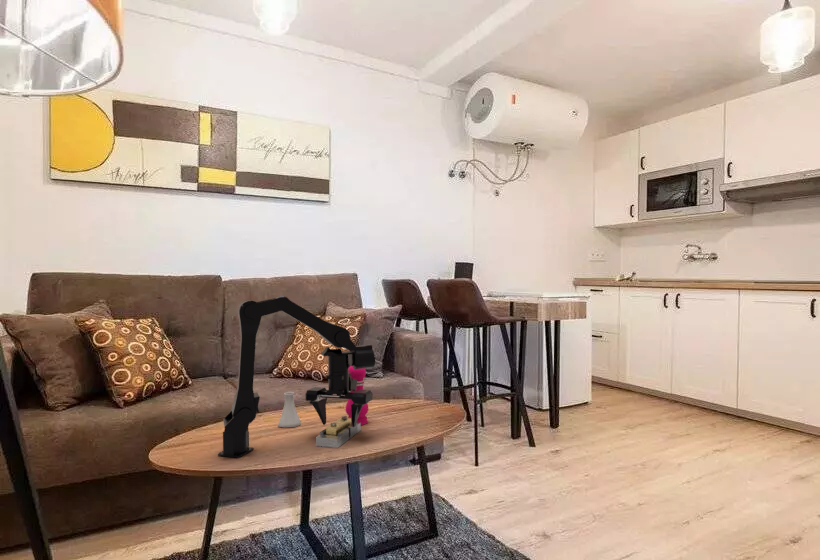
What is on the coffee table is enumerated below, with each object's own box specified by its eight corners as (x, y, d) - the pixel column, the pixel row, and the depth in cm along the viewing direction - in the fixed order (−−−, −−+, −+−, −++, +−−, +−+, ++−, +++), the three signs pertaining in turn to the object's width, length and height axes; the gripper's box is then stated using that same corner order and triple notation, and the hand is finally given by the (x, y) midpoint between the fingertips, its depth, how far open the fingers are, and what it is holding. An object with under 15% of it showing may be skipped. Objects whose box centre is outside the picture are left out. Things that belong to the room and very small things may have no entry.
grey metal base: (337, 448, 125) (337, 436, 125) (315, 446, 127) (315, 434, 127) (360, 430, 140) (360, 420, 140) (341, 428, 142) (341, 419, 142)
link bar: (341, 428, 139) (341, 414, 139) (351, 429, 138) (351, 415, 138) (326, 439, 129) (326, 424, 129) (336, 440, 128) (336, 425, 128)
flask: (304, 421, 151) (304, 390, 151) (296, 428, 143) (296, 395, 144) (282, 421, 151) (282, 390, 151) (273, 428, 144) (273, 395, 144)
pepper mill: (365, 418, 153) (364, 357, 153) (371, 424, 146) (370, 360, 147) (343, 421, 150) (342, 358, 151) (348, 427, 144) (347, 361, 144)
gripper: (379, 367, 139) (379, 420, 139) (322, 365, 144) (322, 415, 144) (364, 373, 128) (365, 431, 128) (303, 371, 134) (304, 426, 133)
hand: (339, 425), depth 134 cm, fingers open, 9 cm apart
